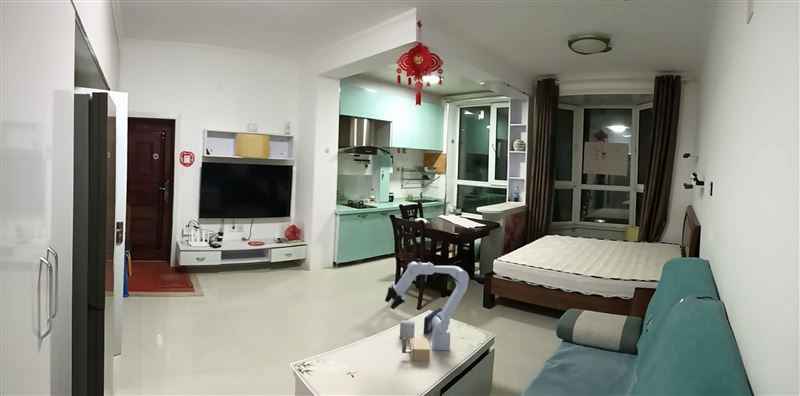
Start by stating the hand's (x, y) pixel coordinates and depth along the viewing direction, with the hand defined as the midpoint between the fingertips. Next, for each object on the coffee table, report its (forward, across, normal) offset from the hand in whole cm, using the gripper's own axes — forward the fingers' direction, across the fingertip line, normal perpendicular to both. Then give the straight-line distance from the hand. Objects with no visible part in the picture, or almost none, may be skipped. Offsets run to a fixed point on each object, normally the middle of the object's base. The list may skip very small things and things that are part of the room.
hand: (389, 304), depth 203 cm
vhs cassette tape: (+3, -12, +44) cm, 46 cm away
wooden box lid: (+15, +10, +19) cm, 26 cm away
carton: (+12, +13, +24) cm, 30 cm away
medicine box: (+13, -8, +28) cm, 31 cm away
